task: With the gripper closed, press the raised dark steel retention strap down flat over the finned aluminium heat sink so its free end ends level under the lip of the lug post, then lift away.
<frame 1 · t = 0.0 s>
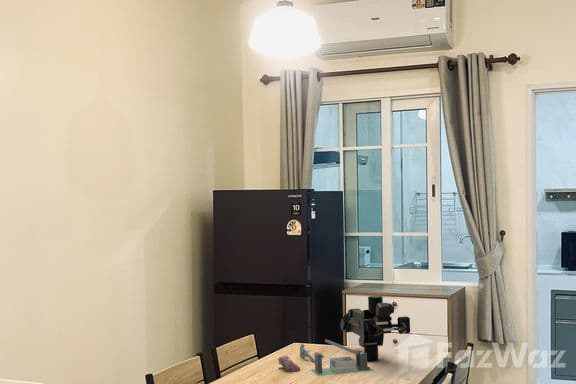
hand: (394, 330, 246), 17 cm above the table, tool horizontal, fingers open, 9 cm apart
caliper: (311, 363, 273), on the table
board: (341, 371, 255), on the table
strap: (344, 348, 255), point 9 cm above the table, hinge at 25.0°
hinge post: (361, 368, 257), resting on board
lug post: (318, 372, 253), resting on board
heatsink: (343, 369, 255), resting on board
purple rounded piece: (288, 371, 259), on the table
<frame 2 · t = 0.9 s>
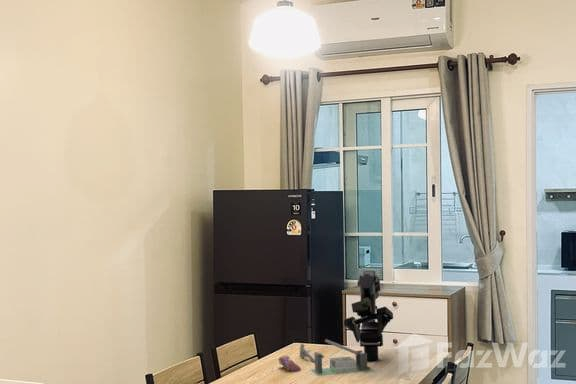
hand: (368, 339, 248), 13 cm above the table, tool tilted 40°, fingers open, 9 cm apart
nothing on the table moved.
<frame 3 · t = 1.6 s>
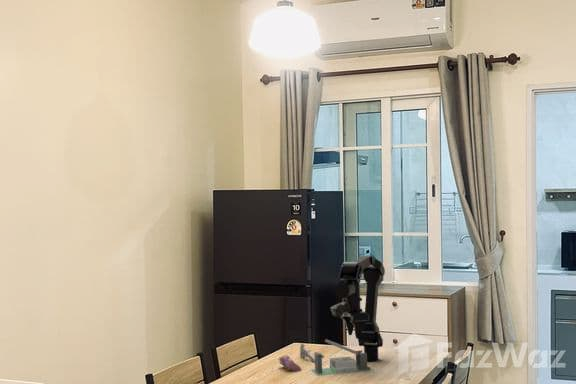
hand: (353, 336, 254), 13 cm above the table, tool pointing down, fingers open, 8 cm apart
nothing on the table moved.
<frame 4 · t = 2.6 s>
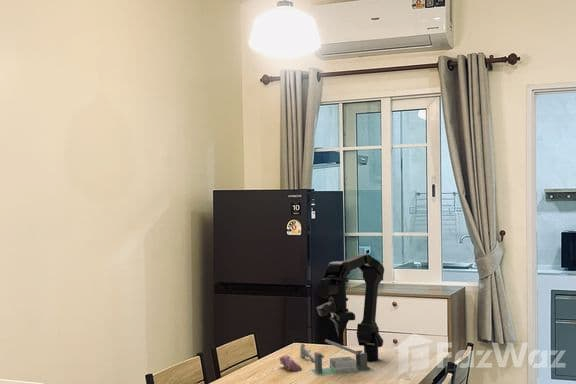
hand: (339, 336, 254), 13 cm above the table, tool pointing down, fingers closed
nothing on the table moved.
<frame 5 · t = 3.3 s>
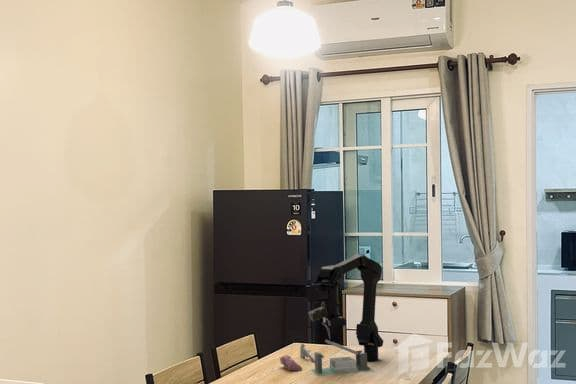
hand: (331, 341, 254), 12 cm above the table, tool pointing down, fingers closed, pressing on strap
strap: (344, 348, 255), point 9 cm above the table, hinge at 24.6°, touching gripper
everything else where it was.
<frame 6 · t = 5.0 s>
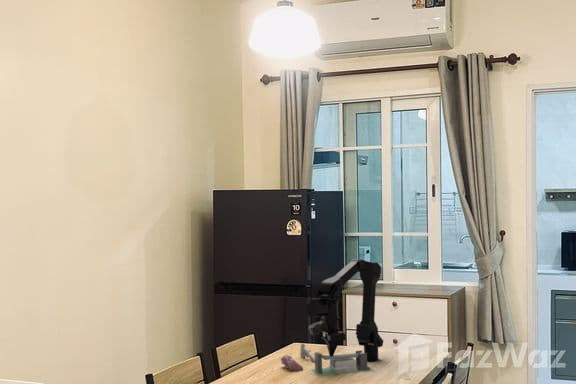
hand: (331, 356, 254), 6 cm above the table, tool pointing down, fingers closed, pressing on strap
strap: (343, 356, 255), point 6 cm above the table, hinge at 0.6°, touching gripper
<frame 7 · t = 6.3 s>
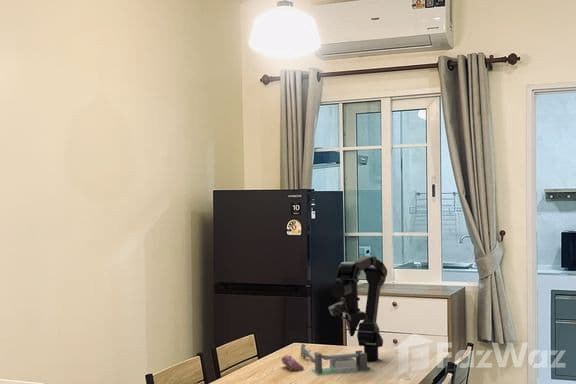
hand: (351, 336, 256), 13 cm above the table, tool pointing down, fingers closed
strap: (343, 356, 255), point 6 cm above the table, hinge at 0.6°
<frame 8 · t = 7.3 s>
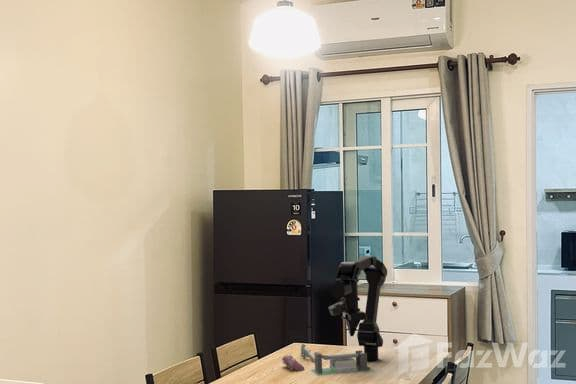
hand: (351, 336, 256), 13 cm above the table, tool pointing down, fingers closed
at the end: strap at +1° (first picture: +25°); the gripper is holding nothing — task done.
